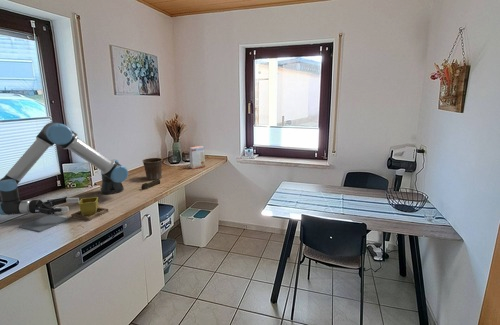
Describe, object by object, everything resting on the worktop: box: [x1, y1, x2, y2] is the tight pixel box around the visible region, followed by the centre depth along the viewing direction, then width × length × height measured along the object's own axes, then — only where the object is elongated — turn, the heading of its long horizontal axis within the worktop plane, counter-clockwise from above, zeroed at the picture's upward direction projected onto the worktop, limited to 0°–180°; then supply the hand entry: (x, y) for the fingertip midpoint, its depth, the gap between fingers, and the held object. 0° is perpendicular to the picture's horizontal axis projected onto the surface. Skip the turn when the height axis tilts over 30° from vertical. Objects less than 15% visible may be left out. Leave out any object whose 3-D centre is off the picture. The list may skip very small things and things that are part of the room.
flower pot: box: [78, 196, 99, 217], centre depth 158 cm, size 9×9×9 cm
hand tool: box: [140, 179, 161, 191], centre depth 210 cm, size 19×4×5 cm, turn 156°
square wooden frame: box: [70, 206, 109, 222], centre depth 159 cm, size 13×13×2 cm
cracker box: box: [188, 145, 206, 170], centre depth 268 cm, size 14×6×21 cm, turn 130°
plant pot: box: [142, 157, 163, 181], centre depth 231 cm, size 16×16×16 cm
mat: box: [18, 214, 70, 233], centre depth 148 cm, size 16×16×1 cm
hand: (73, 204), depth 156 cm, fingers open, 13 cm apart
